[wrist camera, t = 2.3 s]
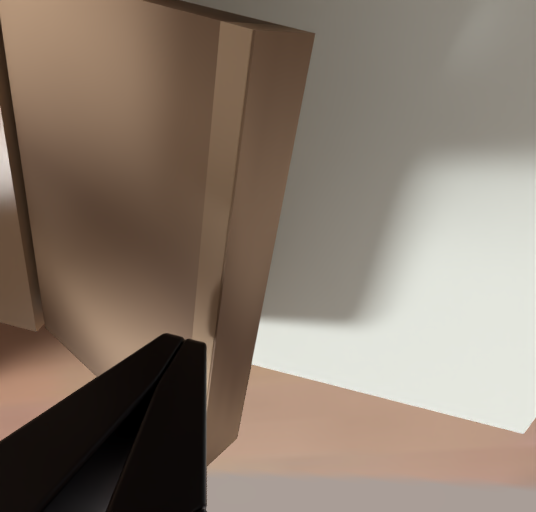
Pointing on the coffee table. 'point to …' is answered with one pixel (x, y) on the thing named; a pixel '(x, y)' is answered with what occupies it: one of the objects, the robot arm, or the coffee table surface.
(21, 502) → the robot arm
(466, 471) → the coffee table surface
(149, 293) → the plank
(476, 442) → the coffee table surface
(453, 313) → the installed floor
